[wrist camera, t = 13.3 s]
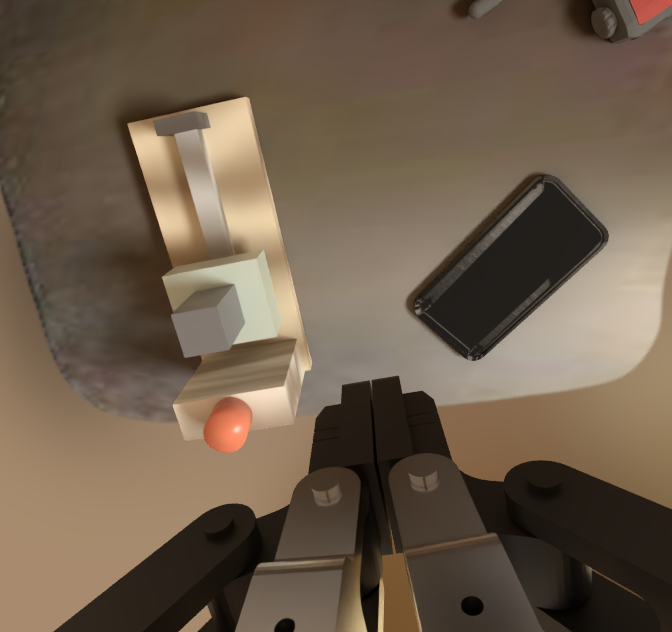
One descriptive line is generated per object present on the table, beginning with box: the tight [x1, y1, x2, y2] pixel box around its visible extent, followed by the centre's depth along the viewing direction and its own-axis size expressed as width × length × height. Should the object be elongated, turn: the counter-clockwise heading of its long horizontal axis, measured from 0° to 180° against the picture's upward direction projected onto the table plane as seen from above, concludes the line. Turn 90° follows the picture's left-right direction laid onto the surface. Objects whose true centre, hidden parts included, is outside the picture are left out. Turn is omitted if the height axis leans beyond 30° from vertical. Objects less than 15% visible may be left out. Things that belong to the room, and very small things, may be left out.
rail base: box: [128, 97, 312, 441], centre depth 37 cm, size 22×9×10 cm, turn 11°
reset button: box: [203, 397, 253, 453], centre depth 34 cm, size 3×3×2 cm
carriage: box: [162, 250, 282, 358], centre depth 36 cm, size 6×7×8 cm
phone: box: [414, 175, 609, 361], centre depth 41 cm, size 8×1×15 cm
